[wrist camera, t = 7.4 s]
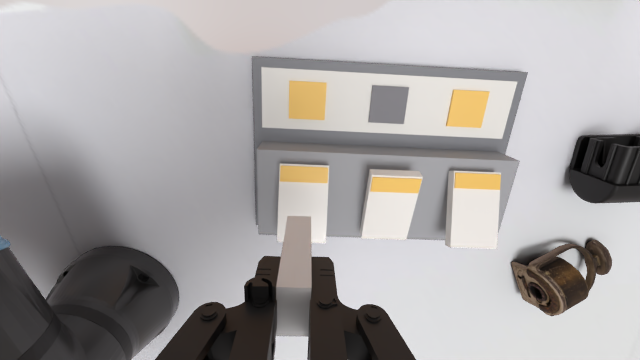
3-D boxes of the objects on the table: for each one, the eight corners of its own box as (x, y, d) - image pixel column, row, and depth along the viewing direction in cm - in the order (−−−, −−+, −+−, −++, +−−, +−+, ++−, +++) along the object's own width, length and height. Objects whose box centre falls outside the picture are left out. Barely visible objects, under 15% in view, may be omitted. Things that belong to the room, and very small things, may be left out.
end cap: (558, 189, 39) (607, 212, 32) (573, 135, 36) (629, 149, 30) (633, 187, 39) (696, 209, 32) (653, 133, 36) (726, 146, 30)
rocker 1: (278, 239, 31) (276, 242, 30) (280, 163, 31) (279, 163, 29) (325, 240, 31) (325, 243, 30) (328, 165, 31) (329, 165, 30)
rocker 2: (444, 244, 32) (451, 247, 31) (448, 170, 32) (454, 170, 30) (489, 246, 32) (497, 249, 31) (493, 172, 32) (501, 172, 31)
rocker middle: (359, 231, 33) (361, 239, 32) (369, 168, 29) (372, 175, 28) (403, 232, 34) (406, 240, 32) (419, 171, 30) (423, 177, 28)
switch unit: (257, 220, 39) (249, 241, 34) (253, 56, 32) (243, 54, 27) (479, 228, 40) (501, 249, 35) (521, 72, 33) (556, 72, 29)
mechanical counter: (544, 251, 36) (533, 328, 37) (657, 257, 35) (643, 335, 36) (510, 233, 43) (502, 298, 44) (603, 237, 42) (592, 303, 43)
